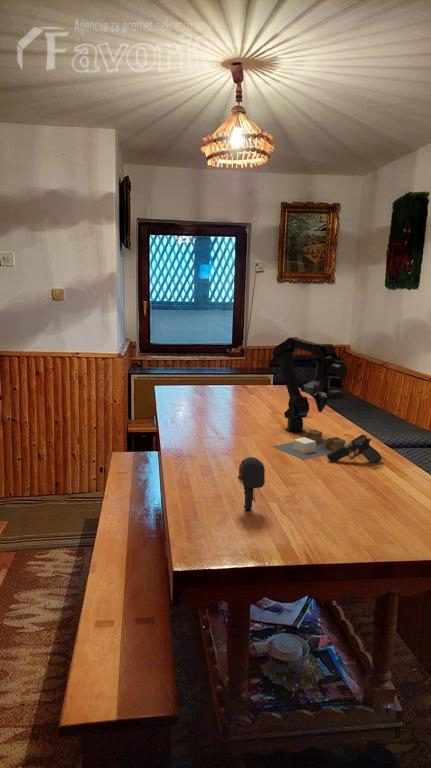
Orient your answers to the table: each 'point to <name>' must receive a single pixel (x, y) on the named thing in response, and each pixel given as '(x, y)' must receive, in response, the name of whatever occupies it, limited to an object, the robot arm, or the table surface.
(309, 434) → the pip block one
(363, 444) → the handgun
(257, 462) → the toy
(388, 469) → the table surface
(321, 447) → the mat
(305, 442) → the plain block
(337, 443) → the pip block two
